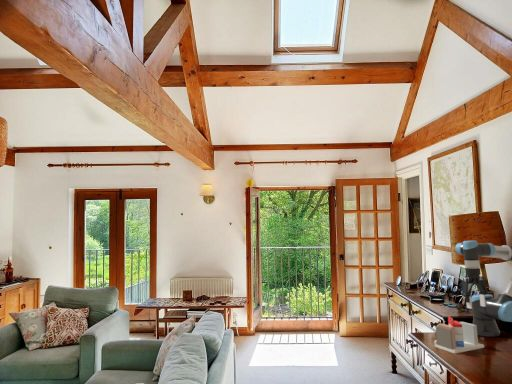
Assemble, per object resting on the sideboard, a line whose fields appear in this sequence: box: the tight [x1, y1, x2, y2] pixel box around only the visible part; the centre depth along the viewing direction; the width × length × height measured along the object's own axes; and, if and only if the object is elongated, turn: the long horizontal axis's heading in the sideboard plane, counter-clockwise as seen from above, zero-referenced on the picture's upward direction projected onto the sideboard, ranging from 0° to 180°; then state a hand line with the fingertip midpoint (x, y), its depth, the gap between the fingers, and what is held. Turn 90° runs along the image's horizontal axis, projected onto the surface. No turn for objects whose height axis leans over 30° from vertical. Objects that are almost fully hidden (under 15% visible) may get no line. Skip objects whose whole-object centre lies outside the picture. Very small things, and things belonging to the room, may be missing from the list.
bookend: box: [458, 321, 479, 345], centre depth 206 cm, size 2×9×10 cm, turn 21°
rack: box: [434, 323, 485, 354], centre depth 203 cm, size 22×13×12 cm, turn 111°
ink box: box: [447, 315, 464, 347], centre depth 203 cm, size 8×5×15 cm, turn 168°
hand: (476, 307), depth 210 cm, fingers open, 10 cm apart
